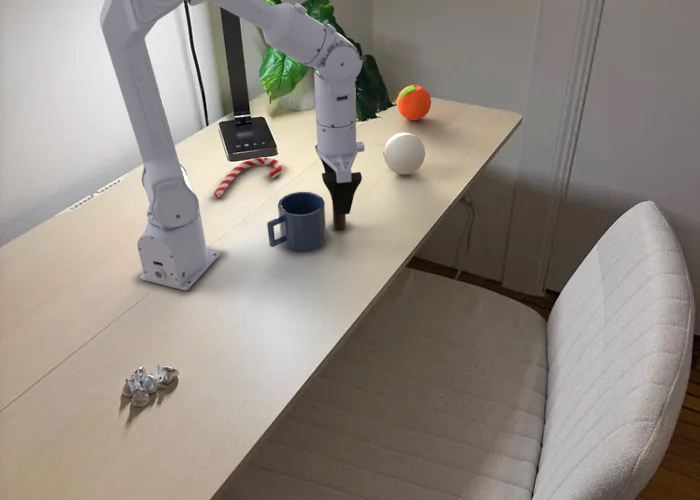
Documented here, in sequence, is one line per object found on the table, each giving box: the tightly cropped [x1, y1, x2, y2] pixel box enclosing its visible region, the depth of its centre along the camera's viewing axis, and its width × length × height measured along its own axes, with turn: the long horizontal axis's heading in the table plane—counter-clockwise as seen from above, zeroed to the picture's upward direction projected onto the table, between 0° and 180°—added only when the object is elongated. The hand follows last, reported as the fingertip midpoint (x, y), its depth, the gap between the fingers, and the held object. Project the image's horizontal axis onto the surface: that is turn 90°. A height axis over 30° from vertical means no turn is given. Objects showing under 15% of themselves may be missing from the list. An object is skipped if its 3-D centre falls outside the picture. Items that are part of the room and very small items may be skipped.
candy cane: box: [213, 157, 283, 199], centre depth 120 cm, size 8×1×15 cm
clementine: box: [396, 84, 432, 121], centre depth 137 cm, size 8×7×7 cm
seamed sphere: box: [373, 132, 426, 175], centre depth 120 cm, size 10×7×7 cm
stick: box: [331, 202, 347, 231], centre depth 106 cm, size 2×2×7 cm
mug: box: [266, 191, 327, 253], centre depth 103 cm, size 10×7×6 cm
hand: (339, 200), depth 105 cm, fingers open, 7 cm apart
